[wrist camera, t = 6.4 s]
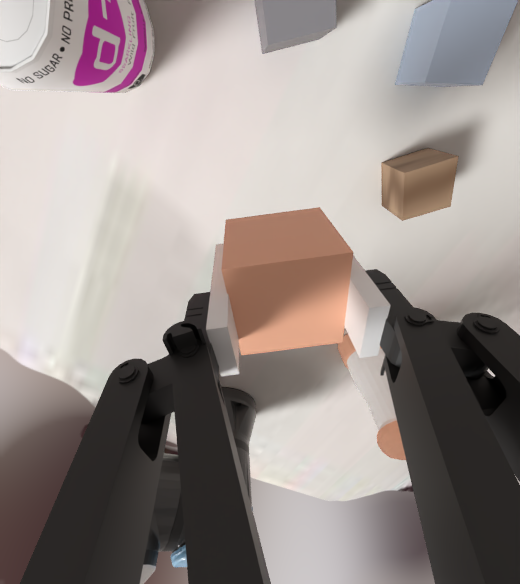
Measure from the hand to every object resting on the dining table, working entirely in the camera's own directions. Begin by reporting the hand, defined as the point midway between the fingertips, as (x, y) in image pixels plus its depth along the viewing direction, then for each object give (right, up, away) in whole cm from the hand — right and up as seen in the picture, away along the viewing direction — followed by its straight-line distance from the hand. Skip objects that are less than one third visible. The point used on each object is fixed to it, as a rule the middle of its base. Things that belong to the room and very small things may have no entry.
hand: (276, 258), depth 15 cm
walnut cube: (+16, +11, +15) cm, 25 cm away
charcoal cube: (+1, +21, +6) cm, 22 cm away
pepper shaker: (+17, -11, +32) cm, 38 cm away
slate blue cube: (+15, +20, +9) cm, 26 cm away
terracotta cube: (0, 0, 0) cm, 0 cm away
